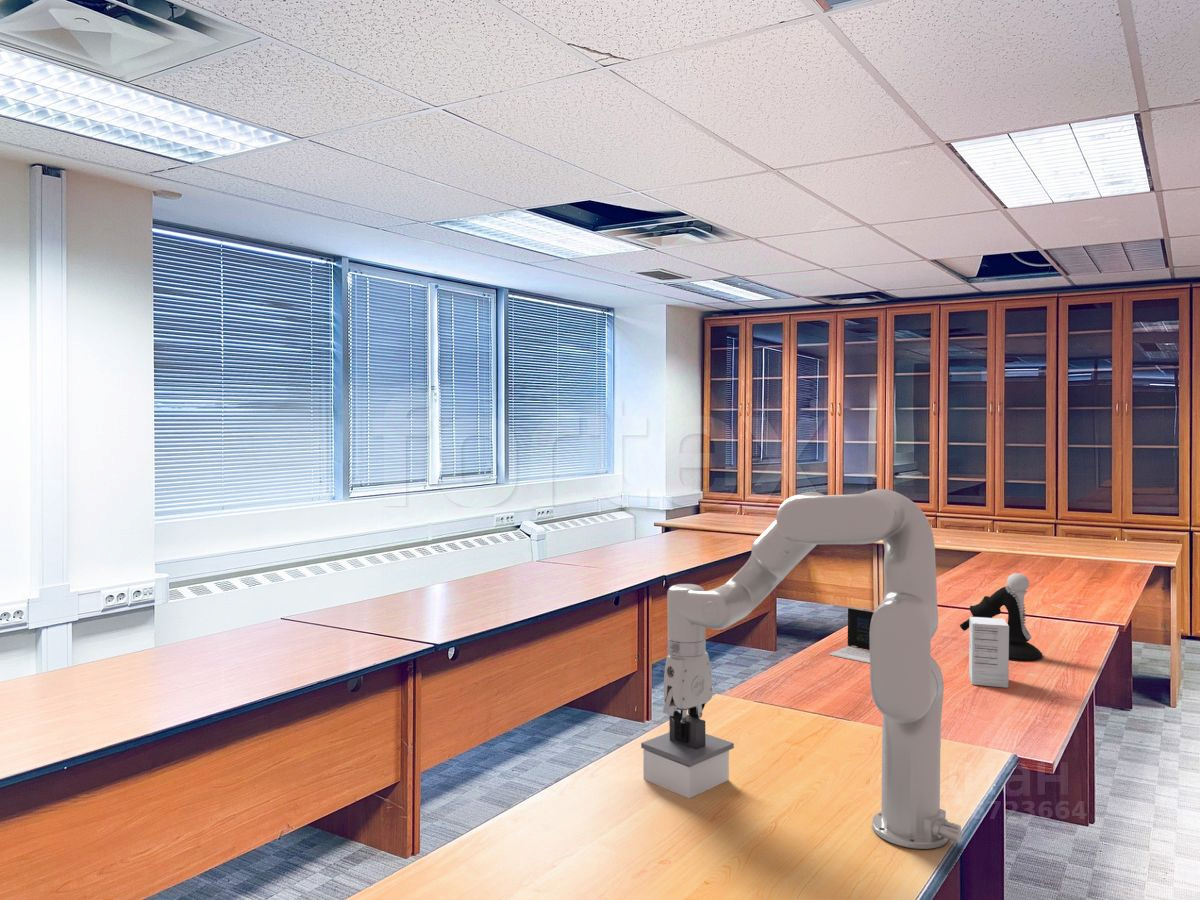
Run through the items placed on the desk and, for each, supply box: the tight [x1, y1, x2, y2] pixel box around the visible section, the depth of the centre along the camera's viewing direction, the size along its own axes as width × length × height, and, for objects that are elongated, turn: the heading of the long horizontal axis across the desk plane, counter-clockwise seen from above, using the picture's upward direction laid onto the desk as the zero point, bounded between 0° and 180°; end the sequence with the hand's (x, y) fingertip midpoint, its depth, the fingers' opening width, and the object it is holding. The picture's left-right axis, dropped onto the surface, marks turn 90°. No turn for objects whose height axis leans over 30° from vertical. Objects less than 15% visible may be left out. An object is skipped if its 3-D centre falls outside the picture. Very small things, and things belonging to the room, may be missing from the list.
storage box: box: [642, 748, 730, 799], centre depth 169 cm, size 12×12×6 cm
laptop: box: [828, 607, 874, 664], centre depth 256 cm, size 18×12×13 cm
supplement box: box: [968, 616, 1010, 689], centre depth 231 cm, size 10×9×17 cm
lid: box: [640, 712, 735, 767], centre depth 168 cm, size 13×13×6 cm
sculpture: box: [959, 572, 1043, 662], centre depth 261 cm, size 15×24×25 cm, turn 49°
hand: (687, 738), depth 168 cm, fingers closed on lid, 2 cm apart
